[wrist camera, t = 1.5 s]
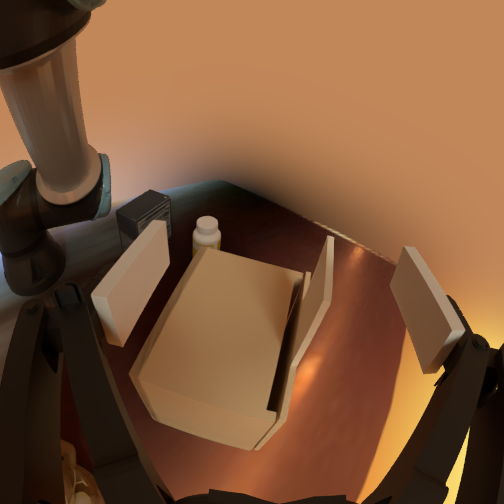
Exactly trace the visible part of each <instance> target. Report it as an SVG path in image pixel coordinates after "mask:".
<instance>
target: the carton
mask: <svg viewBox="0 0 504 504" xmlns="http://www.w3.org/2000/svg"><path fill="white" fill-rule="evenodd" d="M302 279H303V273H301V272H297V271H293V270H289V269H286V268H282V267H278V266H274V265H271V264H267V263H263V262H260V261H256V260H252V259H248V258H245V257H241V256H237V255H234V254H230V253H226V252H222V251H219V250H215V249H211V248H208V247H204V246H200V248H199V249H198V251H197V253H196V254H195V256H194V258H193V259H192V261H191V263H190V264H189V266H188V268H187V270H186V271H185V273H184V275H183V276H182V278H181V280H180V281H179V283H178V285H177V287H176V288H175V290H174V292H173V294H172V295H171V297H170V299H169V301H168V302H167V304H166V306H165V308H164V309H163V311H162V313H161V315H160V316H159V318H158V320H157V322H156V324H155V325H154V327H153V329H152V331H151V333H150V335H149V336H148V338H147V340H146V342H145V344H144V346H143V347H142V349H141V351H140V353H139V355H138V357H137V359H136V361H135V362H134V364H133V366H132V368H131V370H130V372H129V376H130V378H131V380H132V382H133V384H134V386H135V388H136V390H137V391H138V393H139V395H140V397H141V399H142V401H143V402H144V404H145V406H146V408H147V410H148V411H149V413H150V415H151V416H152V418H153V420H155V421H158V422H160V423H163V424H165V425H168V426H171V427H173V428H176V429H179V430H182V431H184V432H187V433H190V434H193V435H196V436H199V437H202V438H205V439H209V440H212V441H215V442H219V443H222V444H226V445H229V446H233V447H237V448H241V449H245V450H249V451H250V450H251V449H252V448H253V447H254V446H255V445H256V444H257V443H258V441H259V440H260V439H261V438H262V437H263V436H264V434H265V433H266V432H267V431H268V430H269V428H270V427H271V426H272V425H273V424H274V422H275V419H276V414H277V412H273V411H268V410H266V409H267V405H268V401H269V397H270V392H271V388H272V384H273V380H274V375H275V371H276V367H277V362H278V358H279V353H280V348H281V344H282V339H283V335H284V330H285V325H286V321H287V318H288V315H289V313H290V310H291V308H292V305H293V303H294V300H295V297H296V295H297V292H298V289H299V287H300V284H301V281H302Z"/></svg>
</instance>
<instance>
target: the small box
mask: <svg viewBox="0 0 504 504" xmlns="http://www.w3.org/2000/svg"><path fill="white" fill-rule="evenodd" d="M116 216H117V222H118V227H119V233H120V238H121V244H122V249H123V251H124V252H125V251H126V250H127V249H128V248H129V247H130V246H131V244H132V243H133V242H134V241H135V240H136V239H137V238H138V236H139V235H140V234H141V233H142V232H143V231H144V230H145V228H146V227H147V226H148V225H149V224H150V223H151V222H152V221H153V220H160V221H166V229H167V240H169V239H170V238H171V237H172V227H171V204H170V196H167V195H164V194H161V193H159V192H156V191H153V190H148V191H147V192H145V193H143V194H142V195H140V196H139V197H137V198H135V199H134V200H132V201H131V202H129V203H127V204H126V205H124V206H123V207H121V208H120V209H118V210H117V211H116Z"/></svg>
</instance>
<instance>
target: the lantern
mask: <svg viewBox="0 0 504 504" xmlns="http://www.w3.org/2000/svg"><path fill="white" fill-rule="evenodd" d="M61 456H63V457H64V461H63V460H62V470H63V480H64V488H65V500H66V504H105V502H104V499H103V497H102V495H101V493H100V491H99V488H98V486H97V484H96V481H95V478H94V476H93V475H92V474H91V473H90V472H89V471H88V470H86V469H85V468H83V467H81V466H80V465H78V464H76V451H75V447H74V446H73V444H71V443H69V442H66V441H64V440H62V439H61Z"/></svg>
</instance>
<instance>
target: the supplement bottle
mask: <svg viewBox="0 0 504 504" xmlns="http://www.w3.org/2000/svg"><path fill="white" fill-rule="evenodd" d="M196 227H197V228H196V229H195V230H194V232H193V258H194V256H195V254H196V253H197V251H198V249H199V248H200V246H204V247H208V248H211V249H215V250H219V251H220V241H221V233H220V231H219V230H218V221H217V220H216V219H215V218H213V217H210V216H204V217H201V218H199V219H198V220H197V226H196Z"/></svg>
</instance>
